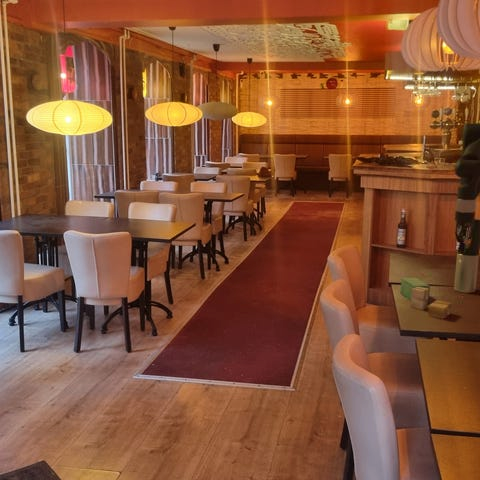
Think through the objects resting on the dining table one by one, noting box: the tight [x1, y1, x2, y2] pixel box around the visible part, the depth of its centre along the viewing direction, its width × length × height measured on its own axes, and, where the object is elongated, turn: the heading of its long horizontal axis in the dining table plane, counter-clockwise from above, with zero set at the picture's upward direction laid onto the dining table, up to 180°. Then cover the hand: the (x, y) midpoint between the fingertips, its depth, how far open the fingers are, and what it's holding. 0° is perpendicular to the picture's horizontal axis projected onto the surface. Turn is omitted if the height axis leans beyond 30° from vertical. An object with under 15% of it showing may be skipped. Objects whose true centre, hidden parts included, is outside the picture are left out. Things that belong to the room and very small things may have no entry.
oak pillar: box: [427, 299, 452, 320], centre depth 244 cm, size 4×6×9 cm
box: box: [399, 277, 431, 301], centre depth 267 cm, size 7×14×8 cm, turn 10°
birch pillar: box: [410, 287, 429, 311], centre depth 253 cm, size 5×5×8 cm
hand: (461, 251), depth 248 cm, fingers closed
